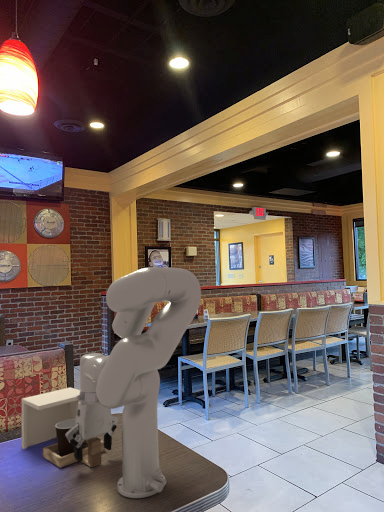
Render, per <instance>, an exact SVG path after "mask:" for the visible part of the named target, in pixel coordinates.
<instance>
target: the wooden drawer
mask: <svg viewBox="0 0 384 512" xmlns="http://www.w3.org/2000/svg"><path fill="white" fill-rule="evenodd" d="M85 443H86V444H87V447H85V448H82V450H83V460H82V461H81V462H80V463H83V464H85V465H87V466H88V467H91V468H94V467H96V466H99V465H101V464H102V452H104V451H106V448H104V440H102V439H101V438H100V437H98V436H97V437H94V438H91V439H87V440H84V441H83V443H82V444H85ZM57 453H59V450H58V443H53V444H51V445H47V446H44V447H42V457H43V458H45V460H47V461H50V463H52V464H53V465H55V466H56V467H58V468H64V467H66V466H68V465H71V464H73V463H76V462H79V461H78V460H76V459H75V457H74V453H71V454H68V455H65V456H63V457H61V456H59V454H57Z"/></svg>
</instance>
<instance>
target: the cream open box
mask: <svg viewBox="0 0 384 512" xmlns="http://www.w3.org/2000/svg"><path fill="white" fill-rule="evenodd" d="M78 395H80V389H77V388H73V387H65V388H62V389H58V390H57V389H56V390H53V391H49V392H44V393H39V394H37V395H32V396H28V397H22V398H21V449H22V450H26V449H28V448H29V447H32V446H35V445H37V444H41V443H44V442H47V441H50V440H53V439H57V435H56V427H55V425H56V424H57V423H59V422H61V421H64V420H69V419H76V413H77V407H78V403H79V402H80V400H77V399H76V396H78Z"/></svg>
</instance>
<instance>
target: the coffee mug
mask: <svg viewBox="0 0 384 512" xmlns="http://www.w3.org/2000/svg"><path fill="white" fill-rule="evenodd" d="M75 425H76V419H69V420H64V421H61V422H59V423H57V424H56V425H55V427H56V435H57V438H56V441H57V443H58V450H59V452H58V455H59V456H61V457H63V456H65V455H68V454H71V453H74V446H73V445H72V444H71V443H70V442H68V439H67V438H66V436H65V434H66V433H67V432H68V431H69V430H70V429H71V428H73V427H74V426H75ZM75 438H76V432H75V433H74V434H73V439H75ZM82 444H83V443H82ZM82 444H81V446H82Z"/></svg>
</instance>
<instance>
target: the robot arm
mask: <svg viewBox="0 0 384 512" xmlns="http://www.w3.org/2000/svg"><path fill="white" fill-rule="evenodd" d="M201 289H202V288H201V285H200V282H199V280H198V277H197V276H196V275H195V274H194V273H193V272H192V271H190V270H187V269H185V268H180V267H162V266H161V267H159V266H158V267H157V266H155V267H154V266H149V267H147V266H146V267H143V268H140V269H138V270H135V271H132V272H131V273H128V274H126V275H123V276H121V277H120V278H117V279H116V280H114V281H113V282H112V283H111V284H110V285H109V287H108V288H107V291H106V294H105V295H106V296H105V302H106V304H107V307H108V308H109V309H110V310H111V311H112V312H116V315H115V317H114V319H113V321H112V324H111V327H112V330H113V333H114V334H116V335H117V336H118V337H120V338H121V339H120V340H119V341H118V342H117V343H116V344H115V345H114V347H112V350H111V351H110V354H108V355H104V354H102V353H100V352H93V353H92V352H91V353H86V354H83V355H82V356H80V359H79V382H80V383H79V386H80V388H79V390H80V395H78V396H76V399H77V400H80V402H79V403H78V407H77V413H76V425H75V426H74V427H73V428H71V429H70V430H69V431H68V432H67V433H66V434H65V436H66V438H67V439H68V442H70V443H71V444H72V445H73V446H74V457H75V459H76V460H78V461H77V462H80V463H82V462H81V461H82V460H83V450H82V449H83V446H82V445H81V444H84V443H83V441H84V440H87V439H91V438H94V437H95V438H96V437H97V438H98V437H99V436H102V435H103V441H104V448H105V450H107V451H112V445H113V443H112V442H113V441H112V440H113V438H112V437H113V436H114V432H115V431H116V429H117V426H118V423H119V417H116V416H113V415H112V410H113V409H118V408H121V407H123V409H122V414H121V453H122V477H120V478H119V479H118V481H117V482H116V483H117V484H116V489H117V493H119V494H120V495H121V496H123V497H126V498H130V499H142V498H148V497H151V496H153V495H156V494H157V493H161V492H163V489H164V488H165V486H166V485H167V482H168V480H167V479H166V477H165V475H164V474H163V473H162V469H161V468H160V462H159V461H160V460H159V459H160V457H159V455H160V454H159V429H158V427H159V426H158V399H159V392H160V385H161V383H160V382H161V379H160V373H159V371H158V370H160V369H162V368H164V367H166V365H167V363H168V362H169V361H170V359H171V357H172V356H173V354H174V352H175V351H176V348H177V347H178V345H179V344H180V342H181V340H182V338H183V335H184V334H185V333H186V331H187V329H188V327H189V326H190V324H191V323H192V322H193V319H194V318H195V317H196V314H197V313H198V311H199V309H200V305H201V300H202V290H201ZM165 302H167V303H166V305H165V306H163V307H162V308H161V309H160V311H158V313H156V315H155V317H154V318H153V319H152V322H151V324H150V326H149V327H148V329H147V330H146V331H145V332H143V330H144V328H145V326H146V323H148V319H149V317H150V315H151V313H152V312H153V311H152V310H153V309H154V307H155V305H156V303H165ZM142 332H143V333H142ZM75 432H76V438H75V439H73V434H74V433H75Z"/></svg>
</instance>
